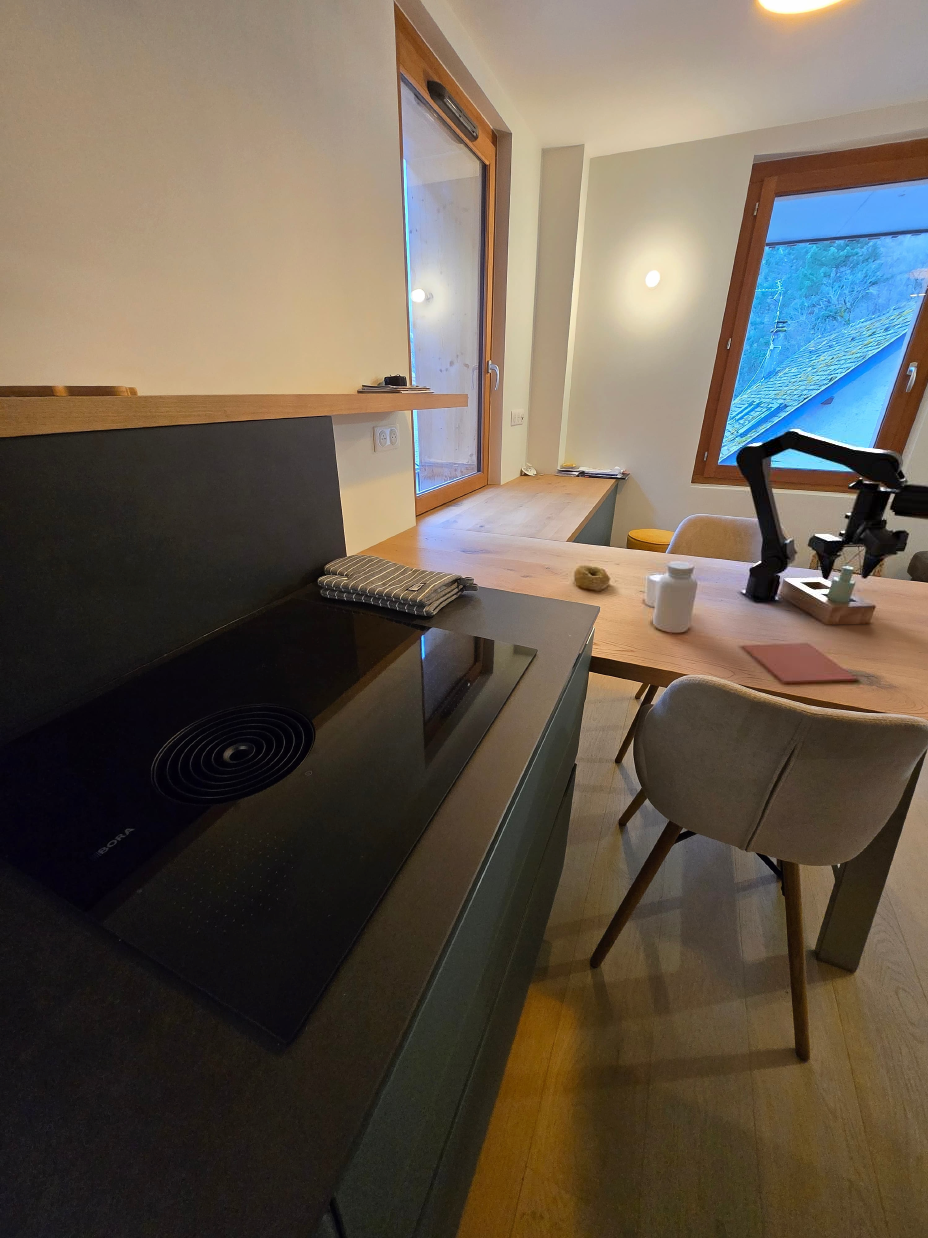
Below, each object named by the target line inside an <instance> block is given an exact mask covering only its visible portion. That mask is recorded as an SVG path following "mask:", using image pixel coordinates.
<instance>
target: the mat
mask: <svg viewBox="0 0 928 1238" xmlns="http://www.w3.org/2000/svg"><path fill="white" fill-rule="evenodd" d="M742 649H744V650H745V651H746V652H747V653H749V654H750V656H752V657H753V658H754V659H755V660H756V661H758V663H760V664H761V665H762V666H764V668H766V669H767V670H768V671H769V672H770V673H771V674H772V675H774V676H775V677H776V678H777V679H778V680H779V681H780V682H782V683H783V684H802V683H803V684H804V683H827V682H828V683H829V682H830V683H832V682H833V683H834V682H857V680H858V678H857V677H856V676H854V675H853V674H851V673H850V672H849V671H847V669H845V668H843V667H842V666H840V665H839V664H837V663H836V662H835V661H833V660H832V659H830V658H829V657H828V656H826V655H825V654H824V653H822V652H820V651H819V650H818V649H817V648H815V647H814V646H812V645H811V644H809V643H808V642H805V643H804V642H802V643H799V642H798V643H774V644H747V645H746V644H744V645H742Z"/></svg>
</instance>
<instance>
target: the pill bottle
mask: <svg viewBox="0 0 928 1238" xmlns="http://www.w3.org/2000/svg"><path fill="white" fill-rule="evenodd" d="M694 569H695V567H694V564H692V563H690V562H686V561H679V560H678V561H676V560H675V561H670V562H669V563H667V566H666V573H663V574H664V575H662V576H661V578H660V580H659V585H658V591H657V598H656V604H655V607H654V610H653V611H654V612H653V617H652V624H653V626H654V627H655V628H656V629H658V630H660V631H663V632H667V633H674V634H675V633H676V634H677V633H678V634H679V633H684V632H686V631H688V630H689V628H690V625H691V621H692V615H693V609H694V606H695V605H694V604H695V600H696V596H697V595H696V594H697V590H698V581H697V579H696V578H695V577H694V576H693V574H694Z"/></svg>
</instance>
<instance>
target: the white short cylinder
mask: <svg viewBox="0 0 928 1238" xmlns="http://www.w3.org/2000/svg"><path fill="white" fill-rule="evenodd" d="M664 574H665V573H657V572H655V573H650V574H647V575H646V577H645V597H644V603H645V604H646V606H648V607H649V606H650V607H652V608H655V604H656V598H657V591H658V585H659V580H660V578H661V576H662V575H664Z"/></svg>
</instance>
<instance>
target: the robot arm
mask: <svg viewBox="0 0 928 1238" xmlns="http://www.w3.org/2000/svg"><path fill="white" fill-rule="evenodd" d="M788 450H792V451H796V452H799V453H803V454H805V455H809V456H812V457H815V458H819V459H822V460H825V461H827V462H828V461H829V462H832V463H835V464H838V465H842V466H844V467H845V468H848V469H849V470H850V471H852V472H854V473H855V474H857V475H858V476H861V477H859V478H858V479H857V480H856V481H855V482H852V483H851V484H849V485H848V486H847V489H848V490H853V491H857V493H856V496H855V499H854V502H853V505H852V508H851V511H850V513H845V515H844V519H846V520H847V522H846V526H845V530H842V531H841V530H840V531H839V533H838V537H836V536H834V535H831V534H813V535H811V536H810V538H809V539H808V542H807V547H809V548H810V549H811V550H812V551H814V552H815V554H816V556H817V559H818V563H819V567H820V571H821V575H822V578H823V579H825V580H827V581H829V578H830V576H831V573H832V571H833V568H834V565H835V563H836V560H837V559H838V558H840V557H842V553H841V552H842V551H843V550H844V548H865V550H864V555H863V561H862V565H861V575H860V577H861V578H862V579H865V580H866V579H867V578H868V577H869V576H870V575H871V574H872V573H873V572H874V571H875V570H876V568H877V567H878V566H879V565H880V564H881V563H883V561H884V560H885V559H887V558H890V557H892V556H896V555H898V554H899V553H901V552H902V553H903V552H905V551H906V548H907V545H908V539H909V536H910V533H909V532H908V531H907V530H905V529H898V530H897V529H896V530H894V529H892V530H889V529H887V524H888V519H887V518H884V515H885V513H886V509H887V507H888V504H889V501H890V498H891V497H892V495H894V496H893V498H892V501H891V503H890V505H889V509H888V510H889V511H891V513H894V515H893V516H895V517H902V518H911V519H918V520H926V521H928V484H926V485H925V484H918V483H917V484H916V483H909V481H908V480H907V479H908V478H907V477H906V475H905V473H904V472H903V470H902V468H903V467H904V460H903V457H902V455H901V454H900V453H899V452H897V451H895V450H887V449H878V448H867V447H866V448H865V447H857V446H852V445H849V444H846V443H843V442H840V441H835V440H832V439H829V438H825V437H823V436H818V435H815V434H811V433H808V432H804V431H802V430H801V429H798V428H794V429H790V430H787V431H785V432H784V433H782V434H780V435H778V436H776V437H774V438H772V439H769V440H767V441H764V442H757V443H753V444H749V445H746V446H744V447H742V448H741V449H740V450H739V451H738V453H737V454H736V456H735V463H736V466H737V467H738V470H739V472H740V474H741V476H742V477H743V479H744V480H745V481H746V482H747V484H748V486H749V491H750V494H751V498H752V502H753V507H754V510H755V515H756V518H757V523H758V527H759V531H760V535H761V550H760V560H759V561H758V562H756V563H755V564H753V566H750V568H749V569H748V572H749V575H748V579H747V583H746V587H745V590H741V591H740V593H741V594H743V595H744V596H746V597H747V598H748V599H750V600H751V601H752V602H778V601H779V600H780V598H778V597H777V596H778V593H779V589H780V585H781V575H779V574H782V573H784V572H785V571H786V570H788V569H789V567H791V566H792V565H793V563H794V562H795V560H796V555H797V554H799V552H798V551H797V550H796V547H795V538H793V537H791V538H788V539H787V537H786V536H785V534H784V533H783V530H782V526H781V521H780V517H779V513H778V509H777V504H776V500H775V496H774V492H773V487H772V483H771V478H770V476H771V470H772V469H771V468H772V458H773V457H775V456H777V455H779V454H781V453H783V452H786V451H788ZM864 478H865V479H867V480H868V481H866V480H865V479H864ZM882 485H884V486H885V487H882ZM839 537H840V538H839Z"/></svg>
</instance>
